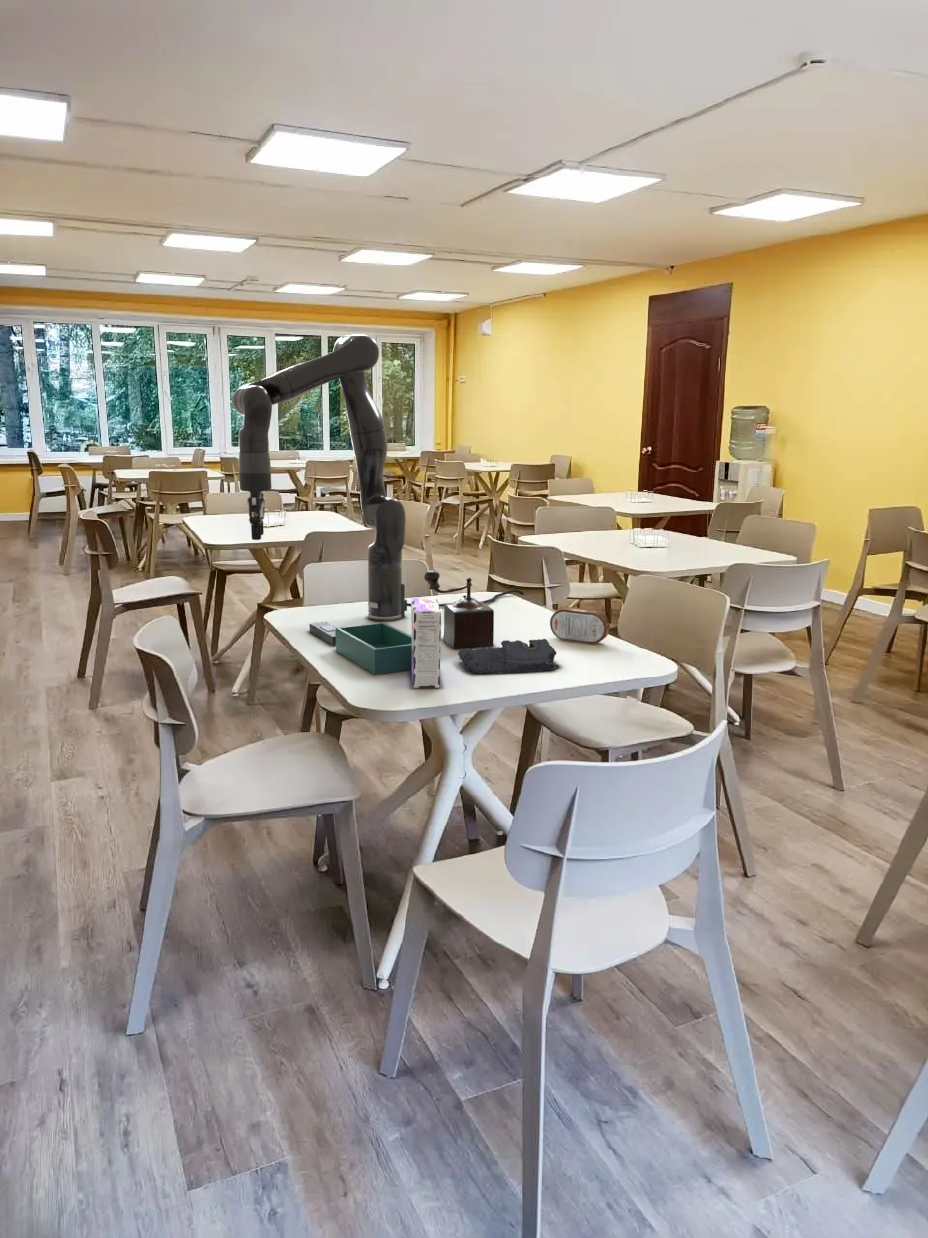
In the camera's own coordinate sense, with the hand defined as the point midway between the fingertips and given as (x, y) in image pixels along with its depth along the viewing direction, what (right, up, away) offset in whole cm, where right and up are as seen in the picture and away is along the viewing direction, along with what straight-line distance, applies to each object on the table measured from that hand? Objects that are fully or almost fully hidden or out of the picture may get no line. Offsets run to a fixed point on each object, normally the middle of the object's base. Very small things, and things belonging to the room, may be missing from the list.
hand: (257, 537), depth 218 cm
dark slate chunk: (+61, -31, -16) cm, 70 cm away
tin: (+80, -26, +4) cm, 84 cm away
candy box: (+43, -33, -29) cm, 61 cm away
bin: (+31, -29, -14) cm, 45 cm away
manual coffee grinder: (+49, -26, +1) cm, 56 cm away
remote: (+17, -25, +5) cm, 30 cm away
